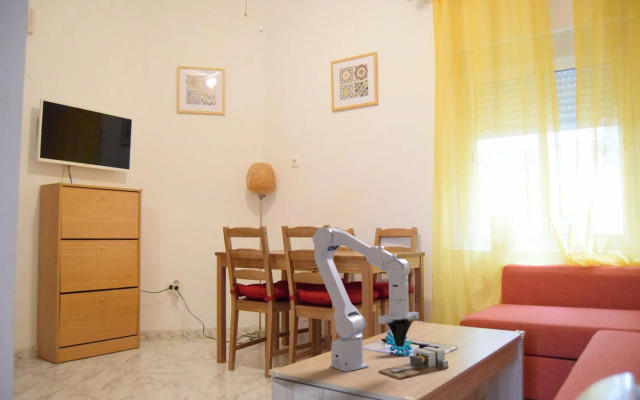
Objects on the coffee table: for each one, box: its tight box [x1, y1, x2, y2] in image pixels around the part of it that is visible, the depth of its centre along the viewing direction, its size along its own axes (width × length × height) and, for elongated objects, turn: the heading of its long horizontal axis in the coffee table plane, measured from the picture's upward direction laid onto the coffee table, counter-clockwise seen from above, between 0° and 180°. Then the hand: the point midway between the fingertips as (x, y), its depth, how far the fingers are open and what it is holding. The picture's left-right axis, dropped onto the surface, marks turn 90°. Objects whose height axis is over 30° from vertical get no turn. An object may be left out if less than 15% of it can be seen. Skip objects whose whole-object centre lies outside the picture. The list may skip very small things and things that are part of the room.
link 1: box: [413, 348, 436, 368], centre depth 148 cm, size 3×8×4 cm, turn 34°
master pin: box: [409, 355, 426, 367], centre depth 148 cm, size 10×4×2 cm, turn 124°
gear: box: [384, 330, 414, 357], centre depth 166 cm, size 11×6×10 cm
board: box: [378, 362, 449, 380], centre depth 145 cm, size 20×9×1 cm, turn 124°
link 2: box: [422, 346, 449, 367], centre depth 149 cm, size 3×8×4 cm, turn 34°
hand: (399, 346), depth 142 cm, fingers closed
